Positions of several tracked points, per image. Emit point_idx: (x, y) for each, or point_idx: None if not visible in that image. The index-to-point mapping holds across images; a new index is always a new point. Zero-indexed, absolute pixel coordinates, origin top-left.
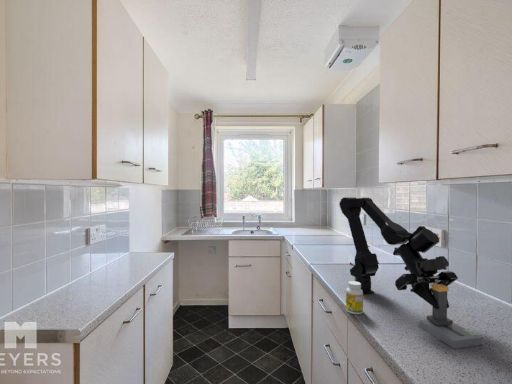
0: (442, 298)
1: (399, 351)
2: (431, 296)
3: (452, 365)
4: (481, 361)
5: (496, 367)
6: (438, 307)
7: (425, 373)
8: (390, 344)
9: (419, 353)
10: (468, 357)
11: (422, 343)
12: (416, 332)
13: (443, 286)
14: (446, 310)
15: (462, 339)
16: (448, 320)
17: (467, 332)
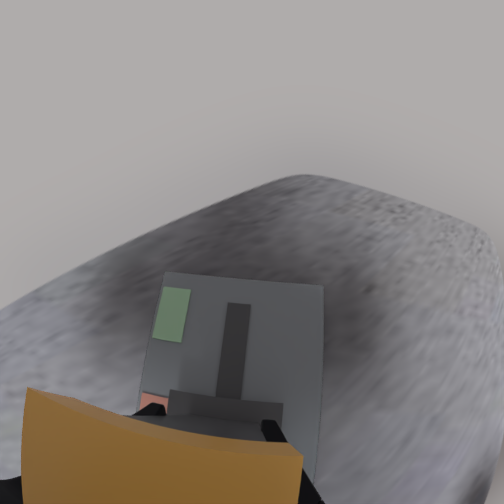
0: (201, 432)
1: (489, 321)
2: (311, 496)
3: (397, 237)
4: (292, 225)
5: (276, 198)
6: (275, 420)
7: (469, 237)
8: (494, 358)
9: (450, 303)
10: (314, 248)
11: (408, 353)
12: (366, 436)
13: (96, 460)
14: (177, 415)
15: (274, 282)
16: (191, 402)
17: (182, 316)
